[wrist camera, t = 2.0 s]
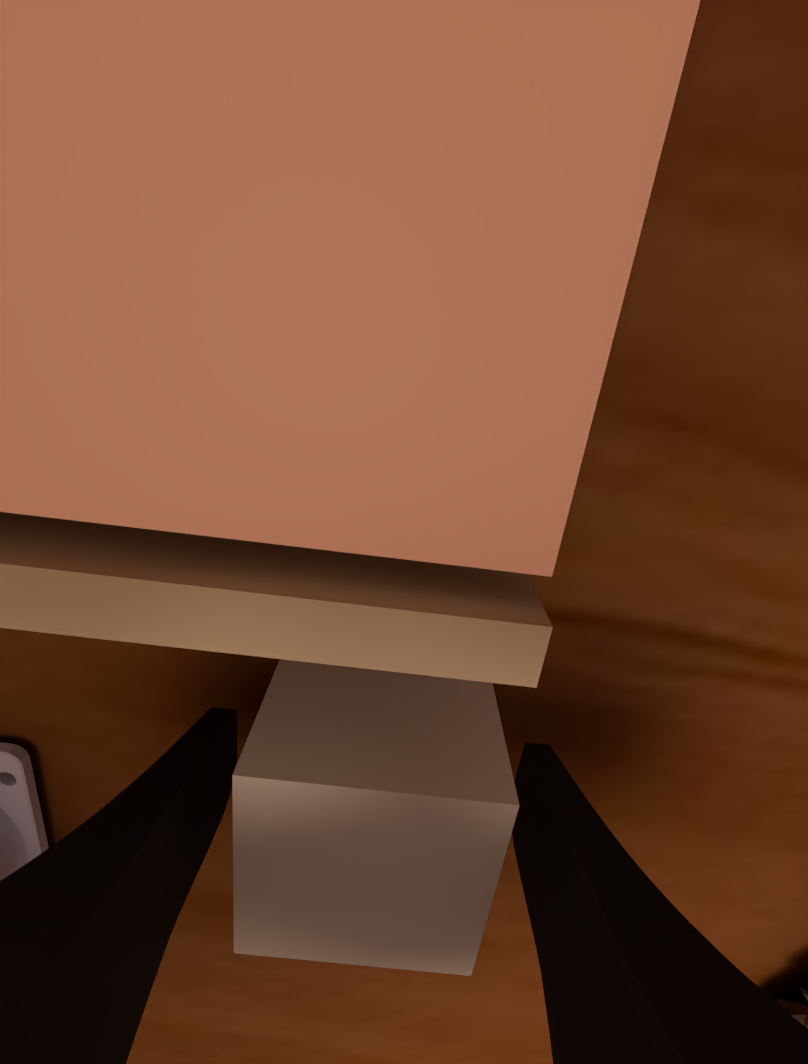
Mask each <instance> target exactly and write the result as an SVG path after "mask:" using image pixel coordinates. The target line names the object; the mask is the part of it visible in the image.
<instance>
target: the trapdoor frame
mask: <svg viewBox="0 0 808 1064" xmlns="http://www.w3.org/2000/svg"><path fill="white" fill-rule="evenodd" d="M0 628H7V629H16V630H25V631H34V632H42V633H51V634H60V635H69V636H78V637H87V638H96V639H105V640H114V641H123V642H132V643H141V644H150V645H159V646H168V647H176V648H185V649H194V650H203V651H212V652H221V653H230V654H239V655H248V656H257V657H266V658H275V659H284V660H293V661H301V662H310V663H319V664H328V665H337V666H346V667H355V668H364V669H373V670H382V671H391V672H400V673H409V674H418V675H426V676H435V677H444V678H453V679H462V680H471V681H480V682H489V683H498V684H507V685H516V686H525V687H534V688H537V684H538V680H539V677H540V673H541V669H542V666H543V662H544V658H545V654H546V651H547V647H548V643H549V640H550V636H551V632H552V628H553V627H552V624H551V622H550V620H549V618H548V616H547V614H546V611H545V609H544V607H543V605H542V603H541V601H540V598H539V596H538V594H537V592H536V590H535V588H534V585H533V583H532V581H531V579H530V577H529V575H528V574H524V573H515V572H507V571H498V570H490V569H481V568H473V567H465V566H456V565H448V564H439V563H431V562H422V561H414V560H405V559H397V558H388V557H380V556H371V555H363V554H354V553H346V552H337V551H329V550H320V549H312V548H303V547H295V546H286V545H278V544H269V543H261V542H252V541H244V540H235V539H227V538H218V537H210V536H202V535H193V534H185V533H176V532H168V531H159V530H151V529H142V528H134V527H125V526H117V525H108V524H100V523H91V522H83V521H74V520H66V519H57V518H49V517H40V516H32V515H23V514H15V513H6V512H0Z"/></svg>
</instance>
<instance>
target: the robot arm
mask: <svg viewBox="0 0 808 1064" xmlns="http://www.w3.org/2000/svg"><path fill="white" fill-rule="evenodd" d="M236 765H237V710H231V709H222V708H214V707H212V708H211V709H209V710H208V711H207V712H206V713H205V714H204V715H203V716H202V717H201V718H200V719H199V720H198V721H197V722H196V723H195V724H194V725H193V726H192V727H191V728H190V729H189V730H188V731H187V732H186V733H185V734H184V735H183V736H182V737H181V738H180V739H179V740H178V741H177V742H176V743H175V744H174V745H173V746H172V747H171V748H170V749H169V750H168V751H167V752H166V753H164V754H163V755H162V756H161V757H160V758H159V759H158V760H157V761H156V762H155V763H154V764H153V765H152V766H150V767H149V768H148V769H147V770H146V771H145V772H144V773H143V774H142V775H141V776H140V777H138V778H137V779H136V780H135V781H134V782H133V783H131V784H130V785H129V786H128V787H127V788H126V789H124V790H123V791H122V792H121V793H120V794H119V795H117V796H116V797H115V798H114V799H113V800H112V801H110V802H109V803H108V804H107V805H106V806H104V807H103V808H102V809H101V810H99V811H98V812H97V813H96V814H94V815H93V816H92V817H90V818H89V819H88V820H87V821H85V822H84V823H83V824H81V825H80V826H79V827H77V828H76V829H75V830H73V831H72V832H71V833H69V834H68V835H67V836H65V837H64V838H63V839H61V840H60V841H58V842H57V843H56V844H54V845H53V846H51V847H50V848H49V847H48V842H47V837H46V832H45V827H44V823H43V818H42V813H41V808H40V803H39V798H38V794H37V789H36V784H35V779H34V774H33V769H32V765H31V760H30V756H29V754H28V752H27V751H26V750H25V749H24V748H22V747H21V746H19V745H16V744H12V743H3V742H0V1064H126V1062H127V1059H128V1056H129V1053H130V1050H131V1047H132V1044H133V1041H134V1038H135V1035H136V1032H137V1029H138V1026H139V1023H140V1020H141V1017H142V1014H143V1011H144V1009H145V1006H146V1003H147V1000H148V997H149V994H150V991H151V988H152V985H153V982H154V980H155V977H156V974H157V971H158V968H159V965H160V963H161V960H162V957H163V954H164V951H165V949H166V946H167V943H168V940H169V937H170V935H171V933H172V930H173V928H174V925H175V923H176V920H177V918H178V915H179V913H180V911H181V909H182V906H183V904H184V902H185V900H186V897H187V895H188V893H189V891H190V889H191V886H192V884H193V882H194V880H195V877H196V875H197V873H198V871H199V868H200V866H201V864H202V862H203V860H204V857H205V855H206V853H207V851H208V848H209V846H210V844H211V842H212V839H213V837H214V835H215V833H216V830H217V828H218V826H219V824H220V821H221V819H222V817H223V814H224V811H225V808H226V805H227V802H228V799H229V796H230V793H231V790H232V775H233V772H234V770H235V767H236ZM514 783H515V787H516V792H517V797H518V801H519V809H518V812H517V816H516V819H515V823H514V827H513V830H512V834H513V843H514V849H515V854H516V858H517V863H518V868H519V872H520V877H521V881H522V886H523V890H524V895H525V899H526V904H527V908H528V913H529V917H530V922H531V926H532V931H533V935H534V939H535V944H536V948H537V953H538V959H539V964H540V969H541V975H542V981H543V989H544V996H545V1003H546V1010H547V1018H548V1025H549V1032H550V1040H551V1048H552V1057H553V1064H808V1029H807V1028H806V1027H805V1026H804V1025H802V1024H801V1023H800V1022H799V1021H797V1020H796V1019H795V1018H794V1017H793V1016H791V1015H790V1014H789V1013H788V1012H786V1011H785V1010H784V1009H783V1008H782V1007H780V1006H779V1005H778V1004H777V1003H776V1002H775V1001H774V1000H772V999H771V998H770V997H769V996H768V995H767V994H766V993H764V992H763V991H762V990H761V989H760V988H759V987H758V986H756V985H755V984H754V983H753V982H752V981H751V980H750V979H748V978H747V977H746V976H745V975H744V974H743V973H742V972H741V971H740V970H739V969H737V968H736V967H735V966H734V965H733V964H732V963H731V962H730V961H729V960H728V959H727V958H726V957H724V956H723V955H722V954H721V953H720V952H719V951H718V950H717V949H716V948H715V947H714V946H713V945H712V944H711V943H710V942H709V941H708V940H707V939H706V938H705V937H704V936H703V935H702V934H701V933H700V932H699V931H698V930H697V929H696V928H695V927H694V926H693V925H692V924H691V923H690V922H689V921H688V920H687V919H686V918H685V917H684V916H683V915H682V914H681V913H680V912H679V911H678V910H677V909H676V908H675V907H674V906H673V905H672V903H671V902H670V901H669V900H668V899H667V898H666V897H665V896H664V895H663V894H662V892H661V891H660V890H659V889H658V888H657V887H656V886H655V885H654V884H653V883H652V882H651V880H650V879H649V878H648V877H647V876H646V875H645V874H644V872H643V871H642V870H641V869H640V868H639V866H638V865H637V864H636V863H635V862H634V860H633V859H632V858H631V857H630V855H629V854H628V853H627V852H626V850H625V849H624V848H623V847H622V845H621V844H620V843H619V842H618V840H617V839H616V838H615V836H614V835H613V834H612V833H611V831H610V830H609V829H608V827H607V826H606V825H605V823H604V822H603V821H602V819H601V818H600V816H599V815H598V814H597V812H596V811H595V810H594V808H593V807H592V806H591V804H590V803H589V801H588V800H587V799H586V797H585V796H584V794H583V793H582V791H581V790H580V789H579V787H578V786H577V784H576V783H575V781H574V780H573V778H572V777H571V776H570V774H569V773H568V771H567V770H566V768H565V767H564V765H563V764H562V762H561V761H560V759H559V758H558V756H557V755H556V753H555V752H554V750H553V749H552V748H551V746H550V745H545V744H536V743H527V742H525V745H524V749H523V753H522V756H521V760H520V764H519V767H518V771H517V775H516V778H515V782H514Z"/></svg>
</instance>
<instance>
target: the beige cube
mask: <svg viewBox="0 0 808 1064" xmlns="http://www.w3.org/2000/svg"><path fill="white" fill-rule="evenodd" d="M232 801H233V915H234V953H237V954H248V955H258V956H269V957H279V958H289V959H300V960H310V961H320V962H331V963H341V964H352V965H362V966H372V967H383V968H393V969H404V970H414V971H424V972H435V973H445V974H455V975H466V976H471V974H472V971H473V967H474V964H475V960H476V957H477V953H478V950H479V946H480V943H481V939H482V936H483V932H484V929H485V925H486V922H487V918H488V915H489V911H490V908H491V904H492V900H493V897H494V893H495V890H496V886H497V883H498V879H499V876H500V872H501V869H502V865H503V862H504V858H505V855H506V851H507V848H508V844H509V841H510V837H511V834H512V830H513V827H514V823H515V819H516V816H517V812H518V809H519V801H518V797H517V792H516V787H515V783H514V778H513V774H512V769H511V765H510V760H509V756H508V751H507V747H506V742H505V737H504V733H503V728H502V724H501V719H500V715H499V710H498V706H497V701H496V697H495V692H494V688H493V683H489V682H480V681H471V680H462V679H453V678H444V677H435V676H426V675H418V674H409V673H400V672H391V671H382V670H373V669H364V668H355V667H346V666H337V665H328V664H319V663H310V662H301V661H293V660H284V659H280V660H279V662H278V665H277V667H276V670H275V672H274V675H273V677H272V679H271V682H270V684H269V687H268V689H267V692H266V694H265V697H264V699H263V701H262V704H261V706H260V709H259V711H258V714H257V716H256V718H255V721H254V723H253V726H252V728H251V731H250V733H249V736H248V738H247V740H246V743H245V745H244V748H243V750H242V753H241V755H240V758H239V760H238V762H237V765H236V767H235V770H234V772H233V775H232Z"/></svg>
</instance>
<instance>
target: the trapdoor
mask: <svg viewBox="0 0 808 1064" xmlns="http://www.w3.org/2000/svg"><path fill="white" fill-rule="evenodd" d="M699 4H700V0H0V512H6V513H15V514H23V515H32V516H40V517H49V518H57V519H66V520H74V521H83V522H91V523H100V524H108V525H117V526H125V527H134V528H142V529H151V530H159V531H168V532H176V533H185V534H193V535H202V536H210V537H218V538H227V539H235V540H244V541H252V542H261V543H269V544H278V545H286V546H295V547H303V548H312V549H320V550H329V551H337V552H346V553H354V554H363V555H371V556H380V557H388V558H397V559H405V560H414V561H422V562H431V563H439V564H448V565H456V566H465V567H473V568H481V569H490V570H498V571H507V572H515V573H524V574H532V575H541V576H549V577H552V575H553V571H554V567H555V563H556V559H557V555H558V551H559V548H560V544H561V540H562V536H563V532H564V528H565V524H566V520H567V516H568V513H569V509H570V505H571V501H572V497H573V493H574V489H575V485H576V481H577V478H578V474H579V470H580V466H581V462H582V458H583V454H584V450H585V447H586V443H587V439H588V435H589V431H590V427H591V423H592V419H593V415H594V412H595V408H596V404H597V400H598V396H599V392H600V388H601V384H602V380H603V377H604V373H605V369H606V365H607V361H608V357H609V353H610V349H611V345H612V342H613V338H614V334H615V330H616V326H617V322H618V318H619V314H620V311H621V307H622V303H623V299H624V295H625V291H626V287H627V283H628V279H629V276H630V272H631V268H632V264H633V260H634V256H635V252H636V248H637V244H638V241H639V237H640V233H641V229H642V225H643V221H644V217H645V213H646V210H647V206H648V202H649V198H650V194H651V190H652V186H653V182H654V178H655V175H656V171H657V167H658V163H659V159H660V155H661V151H662V147H663V143H664V140H665V136H666V132H667V128H668V124H669V120H670V116H671V112H672V109H673V105H674V101H675V97H676V93H677V89H678V85H679V81H680V77H681V74H682V70H683V66H684V62H685V58H686V54H687V50H688V46H689V42H690V39H691V35H692V31H693V27H694V23H695V19H696V15H697V11H698V7H699Z"/></svg>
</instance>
